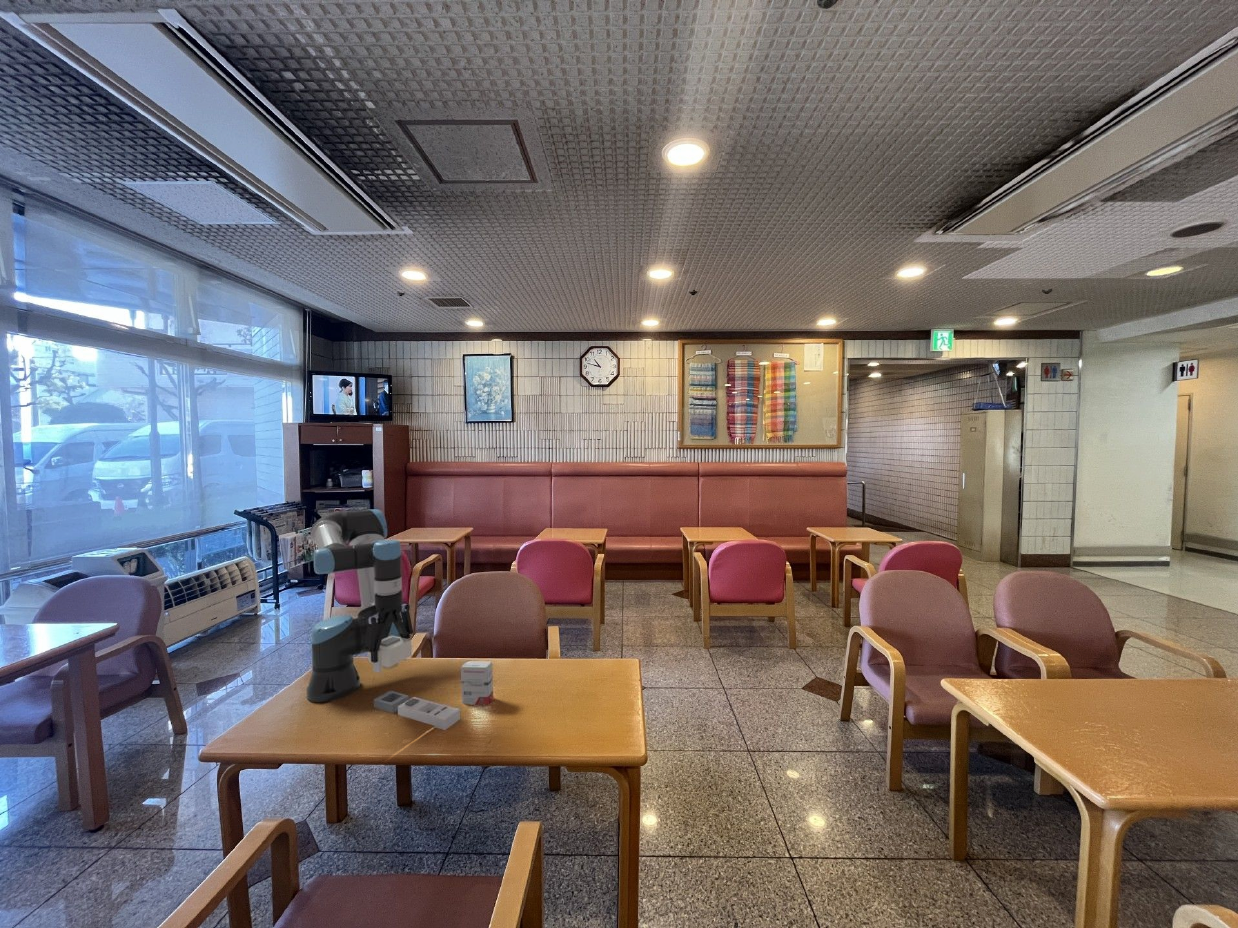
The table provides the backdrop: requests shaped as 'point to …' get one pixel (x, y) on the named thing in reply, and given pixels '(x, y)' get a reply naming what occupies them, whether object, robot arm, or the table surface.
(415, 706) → the socket
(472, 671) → the ink box
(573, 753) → the table surface
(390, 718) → the table surface
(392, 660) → the plug
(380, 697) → the plug rest
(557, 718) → the table surface
